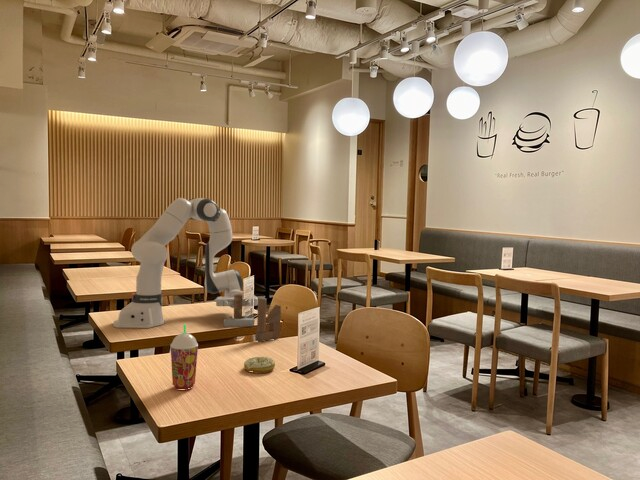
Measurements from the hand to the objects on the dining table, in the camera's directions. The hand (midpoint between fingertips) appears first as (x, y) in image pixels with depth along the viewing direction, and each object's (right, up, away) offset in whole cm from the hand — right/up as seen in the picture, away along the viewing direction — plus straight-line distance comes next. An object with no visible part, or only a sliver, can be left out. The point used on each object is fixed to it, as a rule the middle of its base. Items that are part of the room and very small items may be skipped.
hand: (238, 304), depth 254 cm
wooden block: (+16, -12, -25) cm, 32 cm away
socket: (0, -10, 0) cm, 10 cm away
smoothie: (-4, -16, -87) cm, 88 cm away
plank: (-1, -9, +2) cm, 10 cm away
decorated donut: (+17, -15, -66) cm, 70 cm away
